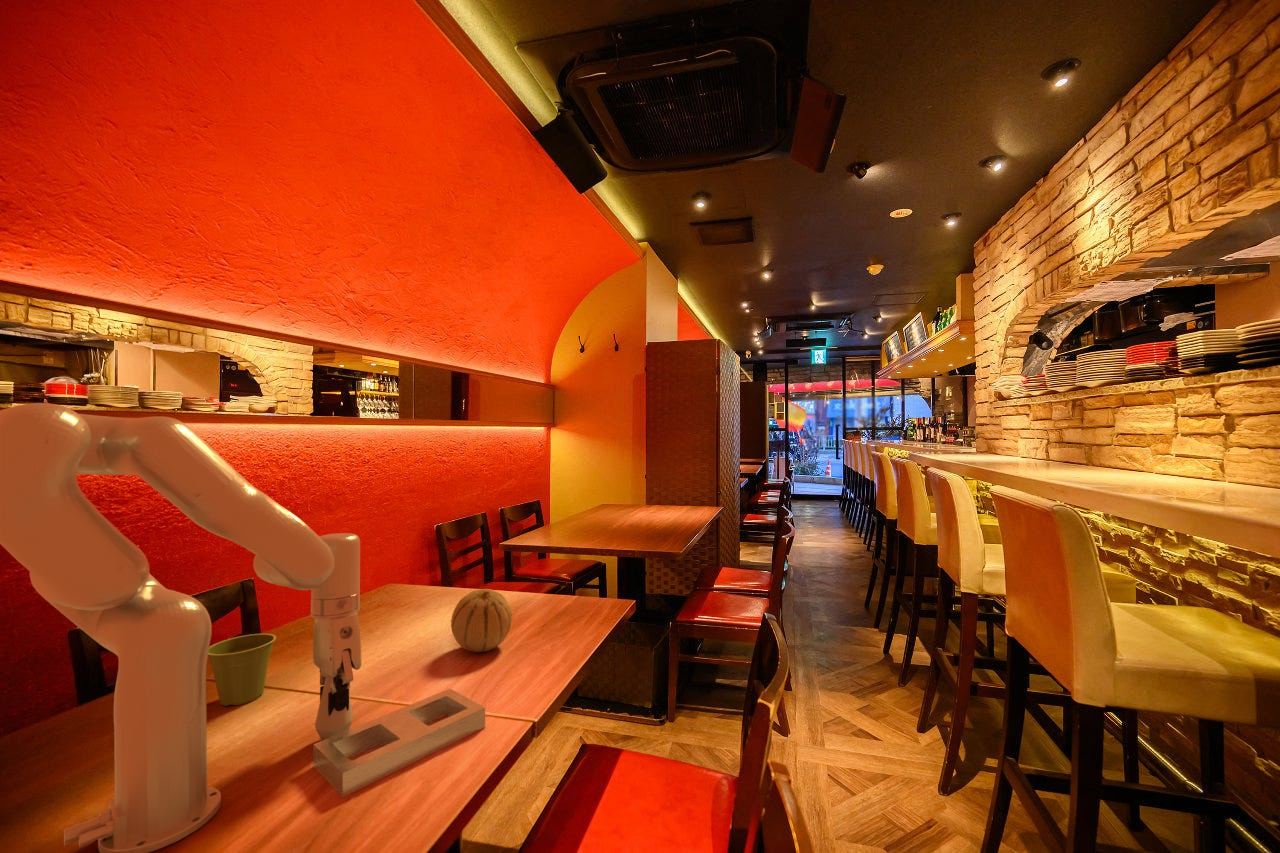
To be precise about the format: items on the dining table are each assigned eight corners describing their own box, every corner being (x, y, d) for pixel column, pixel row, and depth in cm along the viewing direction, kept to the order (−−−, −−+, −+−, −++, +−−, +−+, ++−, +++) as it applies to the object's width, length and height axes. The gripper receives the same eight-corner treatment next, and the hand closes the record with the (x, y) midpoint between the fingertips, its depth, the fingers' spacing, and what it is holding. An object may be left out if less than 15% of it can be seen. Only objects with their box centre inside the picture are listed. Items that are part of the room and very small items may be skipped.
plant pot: (290, 687, 114) (289, 634, 114) (235, 716, 103) (234, 657, 103) (248, 682, 117) (247, 630, 117) (190, 709, 106) (189, 652, 106)
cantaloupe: (481, 634, 142) (480, 578, 143) (524, 643, 136) (523, 584, 136) (437, 655, 129) (436, 593, 129) (482, 666, 122) (481, 600, 123)
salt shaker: (335, 745, 90) (336, 667, 91) (306, 742, 91) (308, 665, 92) (360, 728, 96) (361, 654, 96) (332, 725, 97) (333, 652, 98)
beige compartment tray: (342, 797, 78) (342, 773, 78) (313, 766, 86) (313, 744, 86) (485, 727, 96) (485, 707, 96) (450, 706, 104) (450, 688, 104)
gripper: (377, 608, 92) (376, 716, 91) (340, 592, 103) (339, 689, 102) (330, 618, 86) (328, 734, 86) (296, 601, 97) (294, 704, 96)
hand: (334, 709), depth 94 cm, fingers closed on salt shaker, 3 cm apart
